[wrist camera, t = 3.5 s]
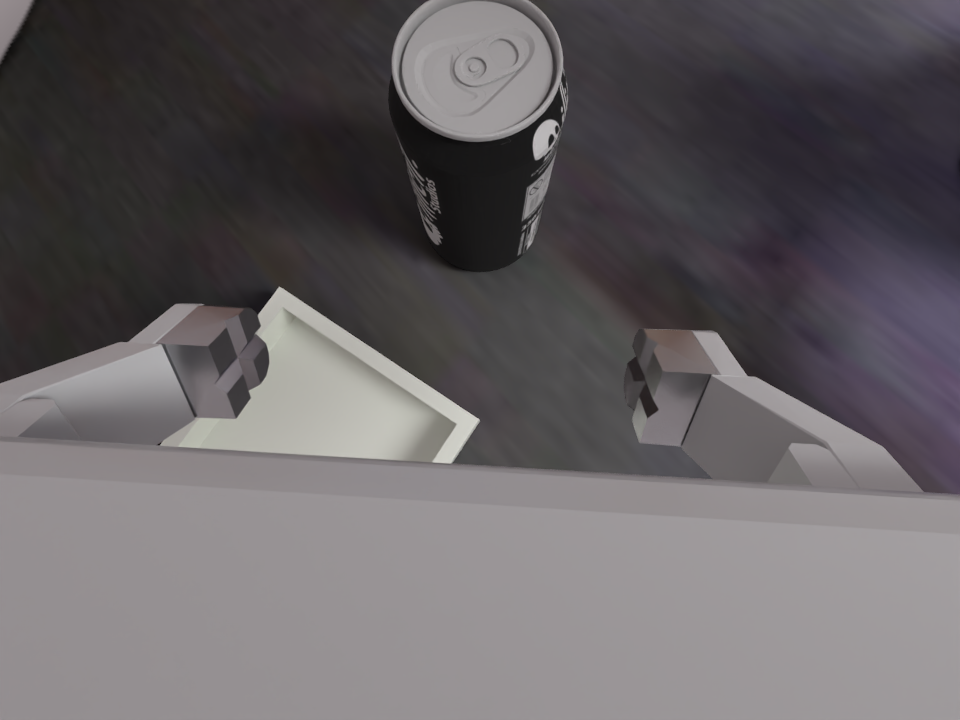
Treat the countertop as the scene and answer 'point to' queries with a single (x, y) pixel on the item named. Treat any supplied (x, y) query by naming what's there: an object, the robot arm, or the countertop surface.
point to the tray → (333, 399)
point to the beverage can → (478, 123)
